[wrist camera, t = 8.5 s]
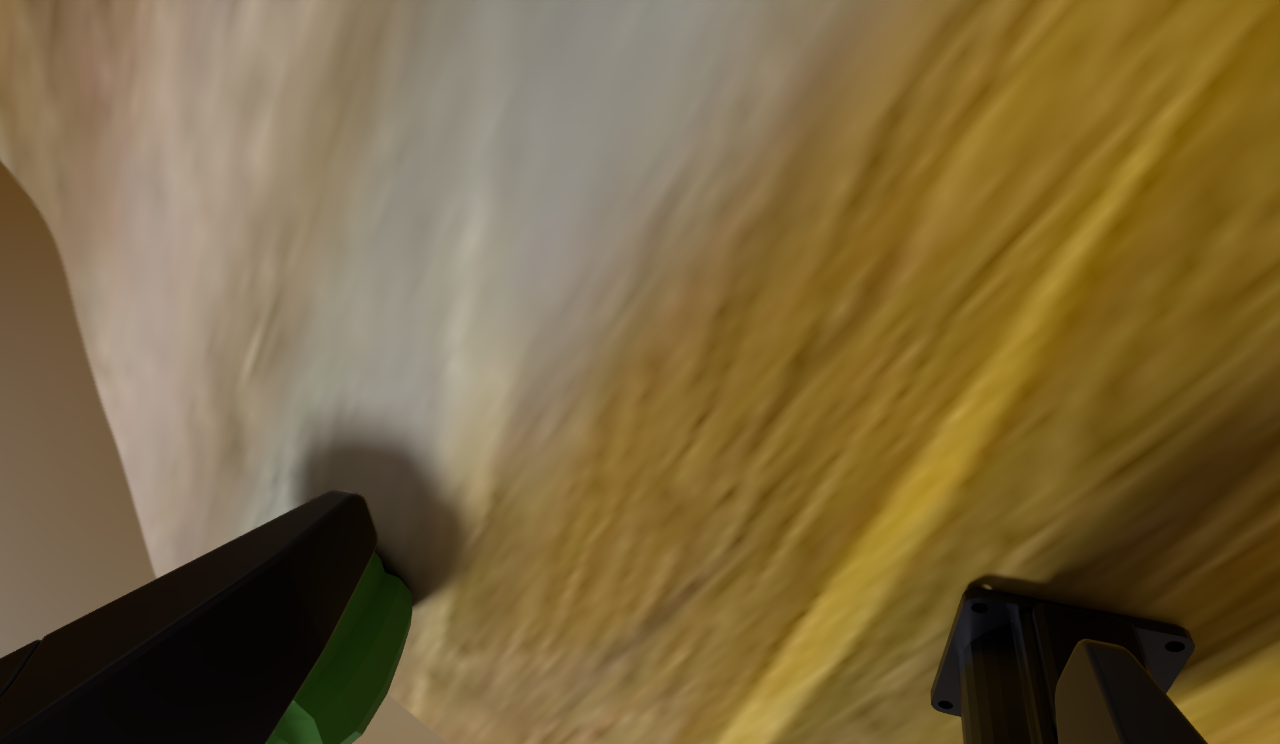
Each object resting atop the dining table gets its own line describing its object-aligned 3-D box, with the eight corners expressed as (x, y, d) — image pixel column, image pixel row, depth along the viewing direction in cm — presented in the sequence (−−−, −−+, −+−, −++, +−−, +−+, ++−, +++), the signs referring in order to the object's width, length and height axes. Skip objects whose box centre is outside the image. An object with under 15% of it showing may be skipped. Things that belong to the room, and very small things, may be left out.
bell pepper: (254, 527, 34) (62, 714, 26) (355, 490, 30) (163, 698, 22) (364, 638, 37) (221, 837, 29) (470, 618, 33) (336, 843, 25)
